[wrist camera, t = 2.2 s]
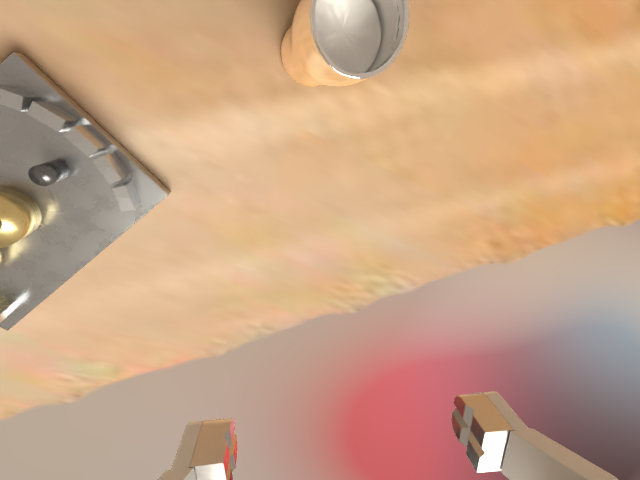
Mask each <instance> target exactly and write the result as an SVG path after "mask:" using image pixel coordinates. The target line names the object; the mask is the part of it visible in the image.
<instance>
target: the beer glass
mask: <svg viewBox="0 0 640 480" xmlns="http://www.w3.org/2000/svg"><path fill="white" fill-rule="evenodd" d="M409 16H410V14H409V2H408V0H300V2H299V4H298V6H297V9H296V11H295V14H294V18H293V23H292V25H291V26H290V27H289V29H288V30H287V31H286V33H285V35H284V37H283V40H282V44H281V59H282V63H283V66H284V68H285V70H286V72H287V73H288V75H289V76H290V77H291V78H292V79H293V80H294V81H295V82H297V83H298V84H300V85H303V86H307V87H314V86H318V85H321V84H324V85H328V86H347V85H351V84H355V83H358V82H361V81H363V80H366V79H368V78H371V77H374V76H376V75H378V74H380V73H382V72H383V71H384V70H386V69H387V68H388V67H389V66H390V65H391V64H392V63H393V62H394V61H395V59H396V58H397V57H398V55H399V53H400V52H401V50H402V48H403V45H404V43H405V40H406V37H407V33H408V28H409Z"/></svg>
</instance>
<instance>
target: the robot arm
mask: <svg viewBox="0 0 640 480" xmlns="http://www.w3.org/2000/svg"><path fill="white" fill-rule="evenodd" d="M454 405H455V406H456V409H455V410H454V411H453V412H452V418H451V420H452V426H453V430H454V433H455V435H456V437H457V439H458V440H459V442H460V443H462V444H463V445H465V446H466V447H467V448H466V454H467V456H468V458H469V459H470V461H471V463H472V465H473V466H474V468H475V470H476V472H489V471H499V470H501V473H503V474H504V475H505V476H506V477H507V478H508V479H510V480H618V479H617V478H616V477H615V476H613V475H611V474H609V473H608V472H606V471H604V470H602V469H601V468H599V467H597V466H596V465H594V464H592V463H591V462H589V461H587V460H585V459H584V458H582V457H580V456H579V455H577V454H575V453H573V452H572V451H570V450H568V449H567V448H565V447H563V446H562V445H560V444H558V443H556V442H555V441H553V440H551V439H549V438H548V437H546V436H544V435H543V434H541V433H539V432H537V431H536V430H534V429H528V428H527V427H526V425H525V424H524V423H523V422H522V421H521V419H520V418H519V417H518V416H517V415H516V413H515V412H514V411H513V410H512V409H511V407H510V406H509V405H508V404H507V403H506V402H505V400H504V399H503V398H502V397H501V396H500V394H499V393H497V392H496V391H493V392H484V393H474V394H465V395H457V396H456V397H455V398H454ZM234 430H235V423H234V419H219V420H205V421H195V422H189V423H188V424H187V426H186V428H185V431H184V434H183V436H182V440H181V442H180V445H179V448H178V451H177V454H176V457H175V460H174V463H173V465H172V468H171V470H168V471H165V472H164V473H163V475H162V476H161V477H160V478H159V479H158V480H233V476H232V471H233V470H234V469H235V467H236V460H237V437H236V435H235V434H234Z"/></svg>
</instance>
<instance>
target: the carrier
mask: <svg viewBox="0 0 640 480" xmlns="http://www.w3.org/2000/svg"><path fill="white" fill-rule="evenodd" d="M170 192H171V191H170V190H169V189H168V188H166V187H165V186H164V185H163V184H162V183H161V182H160V181H159V180H158V179H157V178H156V177H155V176H154V175H153V174H152V173H150V172H149V171H148V170H147V169H146V168H145V167H144V166H143V165H142V164H141V163H140V162H139V161H138V160H137V159H136V158H134V157H133V156H132V155H131V154H130V153H129V152H128V151H127V150H126V149H125V148H124V147H123V146H122V145H121V144H119V143H118V142H117V141H116V140H115V139H114V138H113V137H112V136H111V135H110V134H109V133H108V132H107V131H106V130H105V129H103V128H102V127H101V126H100V125H99V124H98V123H97V122H96V121H95V120H94V119H93V118H92V117H91V116H90V115H89V114H87V113H86V112H85V111H84V110H83V109H82V108H81V107H80V106H79V105H78V104H77V103H76V102H75V101H74V100H72V99H71V98H70V97H69V96H68V95H67V94H66V93H65V92H64V91H63V90H62V89H61V88H60V87H59V86H58V85H56V84H55V83H54V82H53V81H52V80H51V79H50V78H49V77H48V76H47V75H46V74H45V73H44V72H43V71H41V70H40V69H39V68H38V67H37V66H36V65H35V64H34V63H33V62H32V61H31V60H30V59H29V58H28V57H27V56H25V55H24V54H20V53H16V52H13V53H12V54H11V55H10V56H8V57H7V58H6V59H5V60H4V61H3V62H2V63H1V64H0V327H1V328H3V329H5V330H7V331H8V330H9V329H10V328H11V327H12V326H14V325H15V324H16V323H17V322H18V321H20V320H21V319H22V318H23V317H24V316H26V315H27V314H28V313H29V312H30V311H31V310H33V309H34V308H35V307H36V306H37V305H39V304H40V303H41V302H42V301H43V300H45V299H46V298H47V297H48V296H49V295H50V294H52V293H53V292H54V291H55V290H56V289H58V288H59V287H60V286H61V285H62V284H64V283H65V282H66V281H67V280H68V279H69V278H71V277H72V276H73V275H74V274H75V273H77V272H78V271H79V270H80V269H81V268H83V267H84V266H85V265H86V264H87V263H88V262H90V261H91V260H92V259H93V258H94V257H96V256H97V255H98V254H99V253H100V252H101V251H103V250H104V249H105V248H106V247H107V246H109V245H110V244H111V243H112V242H113V241H115V240H116V239H117V238H118V237H119V236H120V235H122V234H123V233H124V232H125V231H126V230H128V229H129V228H130V227H131V226H132V225H134V224H135V223H136V222H137V221H138V220H139V219H141V218H142V217H143V216H144V215H145V214H147V213H148V212H149V211H150V210H151V209H153V208H154V207H155V206H156V205H157V204H158V203H160V202H161V201H162V200H163V199H164V198H166V197H167V196H168V195H169V194H170Z"/></svg>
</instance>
